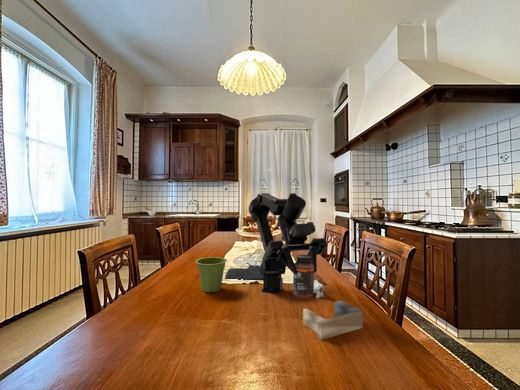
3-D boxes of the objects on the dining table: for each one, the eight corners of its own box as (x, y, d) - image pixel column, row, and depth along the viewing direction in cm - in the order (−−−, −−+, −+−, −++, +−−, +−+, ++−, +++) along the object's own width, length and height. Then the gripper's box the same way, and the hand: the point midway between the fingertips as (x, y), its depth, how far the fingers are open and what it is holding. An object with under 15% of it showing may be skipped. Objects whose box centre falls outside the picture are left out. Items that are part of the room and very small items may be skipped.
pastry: (327, 283, 110) (327, 274, 111) (316, 287, 107) (316, 277, 107) (310, 278, 118) (310, 269, 118) (299, 281, 114) (299, 272, 114)
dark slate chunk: (228, 272, 130) (228, 262, 130) (274, 272, 129) (274, 262, 129) (222, 282, 114) (222, 271, 115) (274, 282, 114) (274, 271, 114)
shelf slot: (299, 324, 74) (299, 308, 74) (339, 314, 81) (339, 299, 81) (320, 340, 66) (320, 321, 66) (363, 327, 72) (363, 310, 72)
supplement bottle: (312, 291, 81) (313, 254, 81) (314, 299, 75) (315, 258, 75) (292, 290, 82) (293, 253, 82) (292, 297, 76) (294, 257, 76)
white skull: (328, 299, 96) (311, 285, 105) (328, 283, 94) (311, 269, 103) (317, 304, 94) (301, 289, 103) (316, 287, 93) (300, 273, 101)
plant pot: (189, 294, 99) (189, 263, 99) (204, 284, 111) (203, 256, 111) (220, 296, 96) (220, 264, 96) (231, 286, 108) (231, 257, 108)
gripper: (269, 213, 79) (284, 260, 69) (324, 212, 85) (346, 255, 75) (260, 236, 87) (272, 281, 76) (311, 233, 93) (329, 275, 82)
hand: (306, 273), depth 77 cm, fingers closed on supplement bottle, 6 cm apart
